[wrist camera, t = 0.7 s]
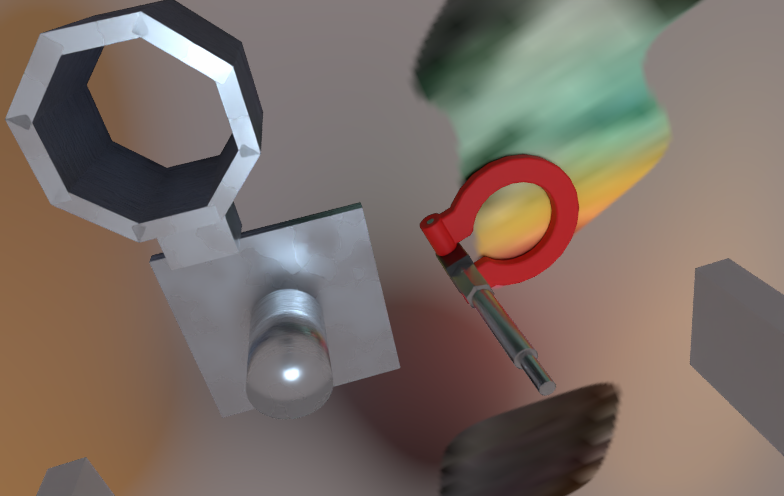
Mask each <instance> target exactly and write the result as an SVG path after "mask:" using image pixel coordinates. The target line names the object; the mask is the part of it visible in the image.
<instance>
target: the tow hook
mask: <svg viewBox="0 0 784 496" xmlns="http://www.w3.org/2000/svg"><path fill="white" fill-rule="evenodd" d="M519 182H527V183H534V184H536V185H538V186H540V187H542V188H543V189H544V190H545V191H546V193H547V195H548V197H549V199H550V202H551V207H552V215H551V222H550V225H549V227H548V230H547V232H546V234H545V235H544V237H543V238H542V240H541V241H540V242H539V243H538V244H537V245H536V246H535V247H534V248H533V249H532V250H530V251H529V252H527V253H526V254H524V255H522V256H520V257H517V258H515V259H509V260H494V259H491V258H489V257H482V258H481V259H479V260H478V261H476V262H474V263H473V261H472V260H471V258H470V256H469V255H468V254H467V252H466V251H465V250H464V249H463V247H462V246H461V245H460V243H459V242H460V241H462V240H463V239H465V238H466V237H468V236H470V235H471V233H472V232H473V225H474V221H475V218H476V215H477V213H478V211H479V209H480V208H481V206H482V204H483V203H484V202H485V201H486V200H487V199H488V198H489V196H490V195H492V194H493V193H494V192H496V191H497V190H499V189H500V188H502V187H505V186H507V185H510V184H512V183H519ZM578 212H579V204H578V198H577V192H576V189H575V187H574V185H573V183H572V181H571V179H570V178H569V177H568V176H567V175H566V174H565V173H564V171H563V170H562V169H561V168H560V167H558V166H557V165H555V164H553V163H551V162H549V161H547V160H545V159H543V158H541V157H538V156H531V155H525V154H522V155H513V156H506V157H503V158H501V159H498V160H496V161H493V162H491V163H488V164H487V165H485V166H484V167H483V168H481V169H480V170H478V171H477V172H475V173H474V174H473V175H472V176H471V177H470V178H469V179H468V180H467V181H466V182H465V184H464V185H463V186H462V187H461V188H460V189H459V191H458V193H457V195H456V197H455V198H454V200H453V202H452V204H451V207H450V208H448V209H447V210H445V211H444V212H442V213H440V214H438V213H434V214H431V215H429V216H427V217H425V218H424V219H423V220H422V221H421V223H420V228H421V229H422V231H423V233H424V234H425V236H426V238H427V239H428V241H429V242H430V244H431V245H432V247H433V249H434V250H435V252H436V256H437V258H438V260H439V261H440V263H441V264H442V266H443V268H444V269H445V271H446V272H447V274H448V276H449V277H450V279H451V280H452V282H453V283H454V285H455V286H456V288H457V289H458V291H459V292H460V293H461V294H462V295H463V297H464V299H465V300H466V302H467V303H468V304H470V305H471V307H472V308H476V309H477V311H478V312H479V314H480V315H481V317H482V318H483V320H484V321H485V322H486V324H487V325H488V327H489V328H490V330H491V331H492V333H493V334H494V336H495V337H496V339H497V340H498V341H499V343H500V344H501V346H502V347H503V349H504V350H505V352H506V353H507V354H508V356H509V357H510V359H511V360H512V362H513V363H514V365H515V366H516V367H517V368H519V369H523V370H524V371H525V373H526V374H527V375H528V377H529V378H530V379H531V381H532V383H533V384H534V385H535V387H536V388H537V390H538V391H539V393H540V394H542V395H549V394H551V393H552V392H553V391H554V390H555V388H556V384H555V383H554V381H553V380H552V379H551V378H550V376H549V375H548V373H547V372H546V371H545V369H544V368H543V367H542V365H541V364H540V363H539V362H538V360H537V358H538V354H537V351H536V350H535V349H534V348H533V346H532V345H531V344H530V342H529V341H528V340H527V338H526V337H525V336H524V334H523V333H522V332H521V331H520V330H519V328H518V327H517V325H516V324H515V323H514V321H513V320H512V319H511V318H510V316H509V315H508V314H507V312H506V311H505V310H504V309H503V307H502V306H501V305H500V303H499V302H498V301H497V300H496V298H495V297H494V292H493V291H492V289H491V288H492V287H493V286H495V285H510V284H516V283H520V282H523V281H525V280H528V279H530V278H533V277H535V276H537V275H538V274H540V273H541V272H543V271H544V270H545V269H547V268H548V267H550V266H551V265H552V264H553V263H554V262H555V261H556V260H557V259H558V258H559V257H560V256H561V255H562V253H563V252H564V250H565V249H566V247H567V245H568V244H569V242H570V241H571V239H572V236H573V233H574V231H575V228H576V225H577V220H578Z"/></svg>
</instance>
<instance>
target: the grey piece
mask: <svg viewBox="0 0 784 496" xmlns="http://www.w3.org/2000/svg"><path fill="white" fill-rule="evenodd" d="M140 37H141V38H143V39H144V40H146V41H148V42H150V43H151V44H153V45H155V46H157V47H158V48H160V49H162V50H163V51H165V52H167V53H169V54H170V55H172V56H174V57H176V58H177V59H179V60H181V61H182V62H184V63H186V64H188V65H189V66H191V67H193V68H195V69H196V70H198V71H200V72H202V73H203V74H205V75H207V76H208V77H210V78H212V79H213V80H215V82H216V85H217V88H218V91H219V94H220V97H221V100H222V103H223V106H224V109H225V112H226V115H227V117H228V120H229V123H230V126H231V129H232V132H233V133H232V135H231V136H230V138H229V140H228V142H227V144H226V145H225V147H224V149H223V151H222V152H221V154H220V155H218V156H214V157H210V158H206V159H201V160H198V161H193V162H189V163H185V164H181V165H177V166H173V167H169V168H166V167H164V166H162V165H160V164H158V163H156V162H154V161H152V160H150V159H148V158H145V157H144V156H142V155H140V154H138V153H136V152H134V151H132V150H129V149H127V148H125V147H123V146H121V145H119V144H117V143H115V142H113V141H112V140H111V138H110V135H109V133H108V131H107V129H106V127H105V125H104V122H103V120H102V118H101V115H100V113H99V111H98V109H97V107H96V104H95V102H94V100H93V98H92V96H91V93H90V91H89V89H88V87H87V83H88V81H89V78H90V76H91V74H92V72H93V70H94V67H95V65H96V63H97V61H98V59H99V56H100V54H101V52H102V50H103V48H104V45H109V44H113V43H118V42H122V41H127V40H131V39H136V38H140ZM5 120H6V122H7V124H8V126H9V128H10V129H11V131H12V133H13V135H14V137H15V139H16V140H17V142H18V144H19V146H20V148H21V150H22V152H23V153H24V155H25V157H26V159H27V161H28V163H29V165H30V166H31V168H32V170H33V172H34V174H35V176H36V178H37V179H38V181H39V183H40V185H41V187H42V189H43V190H44V192H45V194H46V196H47V198H48V200H49V201H50V203H51V205H53V206H55V207H58V208H60V209H62V210H65V211H67V212H69V213H72V214H74V215H76V216H79V217H81V218H83V219H86V220H88V221H90V222H92V223H95V224H97V225H99V226H102V227H104V228H106V229H109V230H111V231H113V232H116V233H118V234H121V235H123V236H125V237H127V238H130V239H132V240H134V241H136V242H143V241H147V240H151V239H155V238H157V240H158V242H159V244H160V246H161V248H162V251H163V253H164V255H165V257H166V260H167V262H168V264H169V266H170V268H171V271H172V270H175V269H179V268H183V267H187V266H191V265H195V264H199V263H203V262H207V261H210V260H214V259H218V258H222V257H226V256H230V255H234V254H238V253H239V247H240V237H241V228H242V224H241V221H240V219H239V216H238V213H237V210H236V207H235V205H234V202H233V200H234V199H235V197H236V195H237V194H238V192H239V190H240V188H241V187H242V185H243V183H244V181H245V180H246V178H247V176H248V174H249V173H250V171H251V169H252V168H253V166H254V164H255V162H256V161H257V159H258V157H259V155H260V154H261V141H262V122H263V110H262V107H261V104H260V101H259V97H258V94H257V91H256V87H255V84H254V81H253V78H252V74H251V71H250V68H249V65H248V61H247V58H246V55H245V52H244V49H243V45H242V42H241V41H239V40H237V39H236V38H234V37H233V36H231V35H230V34H228V33H226V32H225V31H223V30H222V29H220V28H218V27H217V26H215V25H214V24H212V23H210V22H209V21H207V20H206V19H204V18H202V17H201V16H199V15H198V14H196V13H194V12H193V11H191V10H189V9H188V8H186V7H185V6H183V5H181V4H180V3H178V2H177V1H175V0H163V1H158V2H154V3H150V4H145V5H140V6H136V7H132V8H127V9H122V10H118V11H113V12H109V13H104V14H99V15H95V16H92V17H89V18H86V19H83V20H80V21H77V22H74V23H70V24H67V25H64V26H62V27H58V28H56V29H52V30H49V31H46V32H44V33H41V34H40V36H39V38H38V41H37V43H36V46H35V48H34V50H33V53H32V55H31V58H30V60H29V62H28V65H27V67H26V70H25V72H24V75H23V77H22V79H21V82H20V84H19V87H18V89H17V92H16V94H15V97H14V99H13V101H12V104H11V106H10V108H9V111H8V113H7V116H6V118H5Z"/></svg>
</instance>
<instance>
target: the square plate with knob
mask: <svg viewBox="0 0 784 496" xmlns="http://www.w3.org/2000/svg"><path fill="white" fill-rule="evenodd" d="M149 263H150V265H151V267H152V269H153V271H154V273H155V276H156V278H157V280H158V282H159V284H160V286H161V288H162V290H163V293H164V295H165V297H166V299H167V301H168V303H169V305H170V307H171V309H172V312H173V314H174V316H175V318H176V320H177V322H178V324H179V327H180V328H181V330H182V333H183V335H184V337H185V339H186V341H187V343H188V346H189V348H190V350H191V352H192V354H193V356H194V358H195V361H196V362H197V365H198V367H199V369H200V371H201V373H202V375H203V377H204V380H205V382H206V383H207V386H208V388H209V390H210V392H211V394H212V397H213V399H214V401H215V403H216V405H217V407H218V409H219V411H220V414H221V416H222V417H227V416H231V415H234V414H238V413H241V412H245V411H248V410H252V409H256V410H258V411H259V412H261V413H262V414H264V415H266V416H269V417H272V418H277V419H296V418H300V417H303V416H307V415H309V414H311V413H313V412H315V411H316V410H318V409H319V408H320V407H322V406H323V405H324V404H325V402H326V401H327V400H328V398H329V397H330V395H331V393H332V389H333V387H334V386H338V385H341V384H345V383H348V382H352V381H355V380H359V379H363V378H366V377H370V376H373V375H377V374H380V373H384V372H388V371H391V370H394V369H398V368H400V364H399V360H398V356H397V352H396V347H395V343H394V339H393V335H392V330H391V327H390V322H389V318H388V314H387V309H386V305H385V301H384V297H383V293H382V288H381V284H380V280H379V276H378V272H377V268H376V263H375V259H374V255H373V251H372V246H371V242H370V238H369V234H368V229H367V225H366V222H365V217H364V213H363V209H362V205H361V203H356V204H352V205H348V206H344V207H340V208H336V209H332V210H328V211H325V212H321V213H317V214H313V215H309V216H305V217H301V218H297V219H293V220H289V221H285V222H281V223H278V224H273V225H269V226H265V227H261V228H258V229H254V230H250V231H246V232H242V233H241V237H240V247H239V253H238V254H234V255H230V256H226V257H222V258H218V259H214V260H210V261H207V262H203V263H199V264H195V265H191V266H187V267H183V268H179V269H175V270H172V271H171V268H170V266H169V264H168V262H167V260H166V257H165V255H164V253H160V254H155V255H152V256H151V259H150V262H149Z"/></svg>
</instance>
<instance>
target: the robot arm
mask: <svg viewBox="0 0 784 496" xmlns="http://www.w3.org/2000/svg"><path fill="white" fill-rule="evenodd" d="M690 365H691V366H692V367H693V368H694V369H695V370H696V371H697V372H698V373H699V374H700V375H701V376H702V377H703V378H704V379H706V380H707V381H708V382H709V383H710V384H711V385H712V386H713V387H714V388H715V389H716V390H717V391H718V392H719V393H720V394H721V395H722V396H723V397H724V398H725V399H726V400H727V401H728V402H729V403H730V404H731V405H732V406H733V407H734V408H735V409H736V410H737V411H738V412H739V413H740V414H741V415H742V416H743V417H745V419H746V420H747V421H748V422H750V424H752V426H754V427H755V428H756V429H757V430H758V431H759V432H760V433H761V434H762V435H763V436H764V437H765V438H766V439H767V440H768V441H769V442H770V443H771V444H772V445H773V446H774V447H775V448H776V449H777V450H778V451H779V452H780V453H781V454H782V455H783V456H784V295H783V294H781V293H780V292H779V291H777V290H775V289H774V288H773V287H771V286H769V285H768V284H766V283H765V282H763V281H762V280H761V279H759V278H758V277H756V276H754V275H753V274H751V273H750V272H749V271H747V270H745V269H744V268H742V267H741V266H739V265H738V264H736V263H735V262H733V261H732V260H730V259H729V258H727V259H724V260H721V261H718V262H714V263H712V264H708V265H705V266H701V267H698V268H695V283H694V300H693V318H692V336H691V353H690ZM36 496H115V495H114V494H113V493H112V491H111V490H110V489H109V487H108V486H107V485H106V483H105V482H104V481H103V479H102V478H101V477H100V475H99V474H98V472H97V471H96V470H95V468H94V467H93V466H92V465H91V463H90V462H89V461H88V459H87V458H86V457H85V458H82V459H78V460H75V461H72V462H69V463H66V464H62V465H59V466H56V467H53V468H49V469H48V470H47V472H46V475H45V477H44V479H43V482H42V484H41V486H40V488H39V491H38V493H37V495H36Z"/></svg>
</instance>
